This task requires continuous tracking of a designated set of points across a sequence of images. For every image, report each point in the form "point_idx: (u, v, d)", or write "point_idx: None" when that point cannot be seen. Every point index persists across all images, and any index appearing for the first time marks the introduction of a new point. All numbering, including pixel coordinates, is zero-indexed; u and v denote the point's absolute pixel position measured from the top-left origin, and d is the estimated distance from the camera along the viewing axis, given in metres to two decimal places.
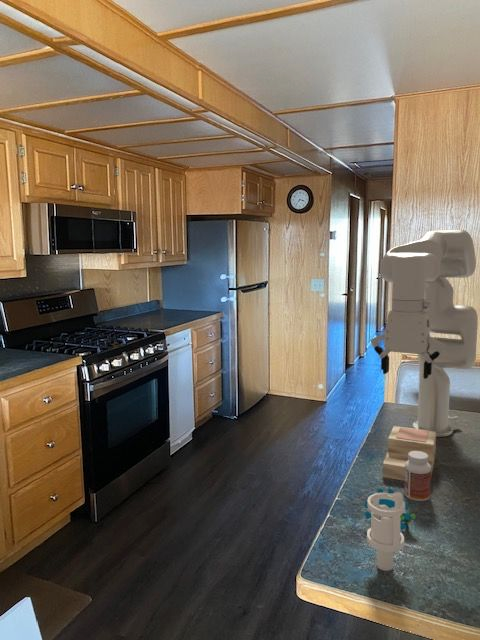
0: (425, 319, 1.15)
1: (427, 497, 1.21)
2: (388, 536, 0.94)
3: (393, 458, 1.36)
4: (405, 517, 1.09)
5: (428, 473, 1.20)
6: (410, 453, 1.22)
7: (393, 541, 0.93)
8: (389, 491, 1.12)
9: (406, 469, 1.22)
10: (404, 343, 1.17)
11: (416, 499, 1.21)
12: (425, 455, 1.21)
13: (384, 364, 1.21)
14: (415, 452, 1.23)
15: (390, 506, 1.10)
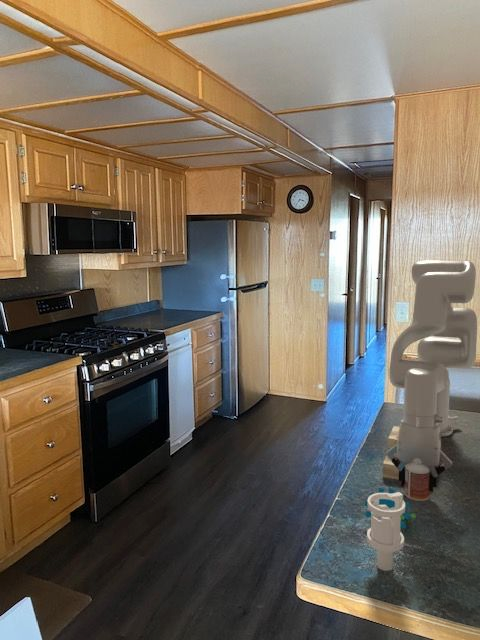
0: (437, 433, 1.17)
1: (427, 497, 1.21)
2: (388, 536, 0.94)
3: None
4: (405, 517, 1.09)
5: (428, 473, 1.20)
6: None
7: (393, 541, 0.93)
8: (390, 490, 1.13)
9: (406, 469, 1.22)
10: (417, 456, 1.19)
11: (416, 499, 1.21)
12: None
13: (402, 477, 1.23)
14: None
15: (390, 505, 1.11)
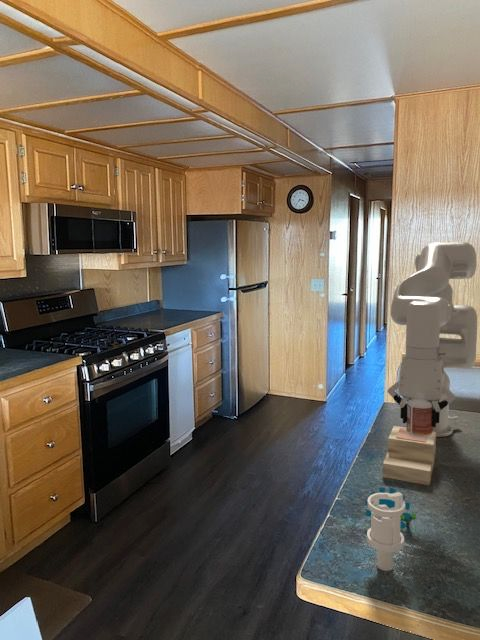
0: (440, 366, 1.15)
1: (430, 433, 1.18)
2: (388, 536, 0.94)
3: (393, 458, 1.36)
4: (405, 516, 1.09)
5: (431, 408, 1.17)
6: None
7: (393, 541, 0.93)
8: (391, 490, 1.13)
9: (408, 405, 1.19)
10: (420, 390, 1.17)
11: (418, 435, 1.18)
12: None
13: (404, 414, 1.20)
14: None
15: (391, 505, 1.11)
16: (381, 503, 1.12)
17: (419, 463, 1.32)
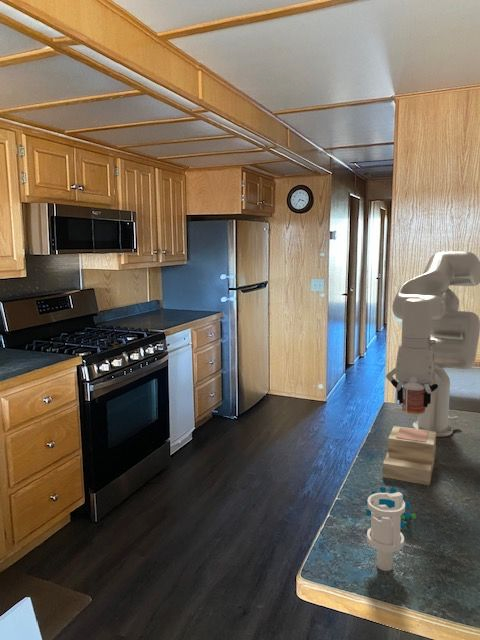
0: (431, 354, 1.34)
1: (422, 412, 1.37)
2: (388, 536, 0.94)
3: (393, 458, 1.36)
4: (405, 516, 1.09)
5: (423, 390, 1.36)
6: None
7: (393, 541, 0.93)
8: (391, 490, 1.13)
9: (404, 388, 1.38)
10: (413, 375, 1.36)
11: (412, 413, 1.37)
12: None
13: (400, 396, 1.39)
14: None
15: (391, 505, 1.11)
16: (381, 503, 1.12)
17: (419, 463, 1.32)
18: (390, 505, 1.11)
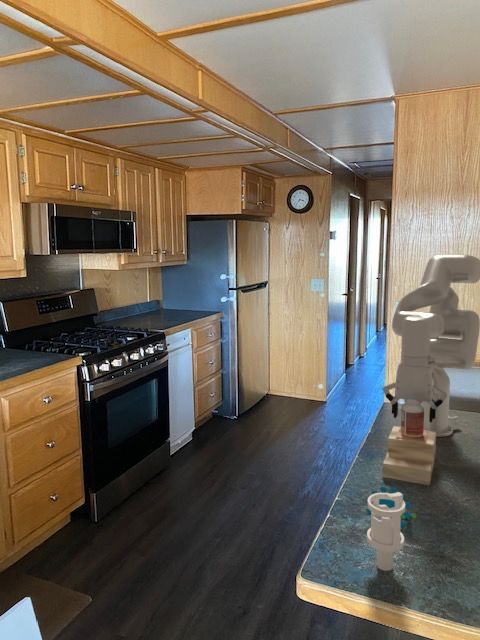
0: (430, 372, 1.35)
1: (421, 434, 1.38)
2: (388, 536, 0.94)
3: (393, 458, 1.36)
4: (406, 516, 1.09)
5: (422, 412, 1.38)
6: None
7: (393, 541, 0.93)
8: (392, 489, 1.13)
9: (402, 410, 1.39)
10: (413, 393, 1.37)
11: (411, 436, 1.38)
12: None
13: (395, 409, 1.40)
14: None
15: (391, 504, 1.11)
16: (382, 502, 1.12)
17: (419, 463, 1.32)
18: (390, 505, 1.11)
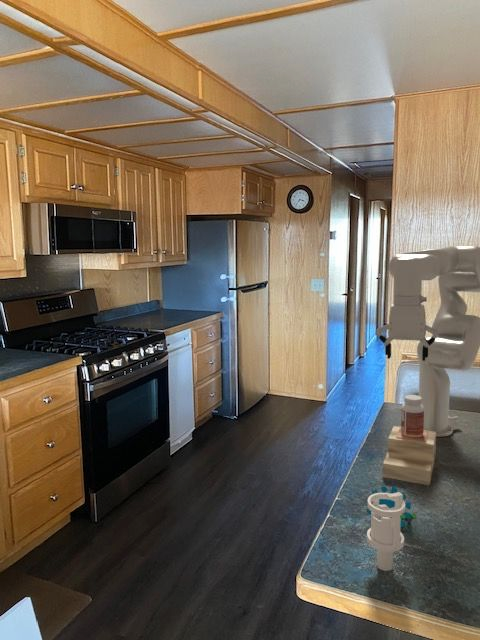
0: (423, 311, 1.37)
1: (421, 434, 1.38)
2: (388, 536, 0.94)
3: (393, 458, 1.36)
4: (406, 516, 1.09)
5: (421, 412, 1.38)
6: (406, 396, 1.40)
7: (393, 541, 0.93)
8: (392, 489, 1.13)
9: (402, 410, 1.39)
10: (406, 332, 1.39)
11: (411, 436, 1.38)
12: (419, 397, 1.39)
13: (388, 350, 1.43)
14: (410, 395, 1.41)
15: (392, 504, 1.11)
16: (382, 502, 1.12)
17: (419, 463, 1.32)
18: (391, 504, 1.11)
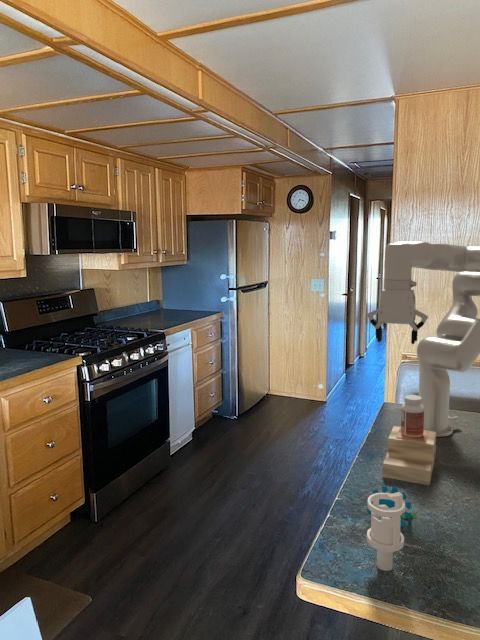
0: (412, 295, 1.41)
1: (421, 434, 1.38)
2: (388, 536, 0.94)
3: (393, 458, 1.36)
4: (406, 516, 1.09)
5: (422, 412, 1.38)
6: (406, 396, 1.40)
7: (393, 541, 0.93)
8: (393, 489, 1.13)
9: (402, 410, 1.39)
10: (396, 316, 1.43)
11: (411, 436, 1.38)
12: (419, 397, 1.39)
13: (378, 334, 1.47)
14: (410, 395, 1.41)
15: (392, 504, 1.11)
16: (383, 501, 1.12)
17: (419, 463, 1.32)
18: (391, 504, 1.11)
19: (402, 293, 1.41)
